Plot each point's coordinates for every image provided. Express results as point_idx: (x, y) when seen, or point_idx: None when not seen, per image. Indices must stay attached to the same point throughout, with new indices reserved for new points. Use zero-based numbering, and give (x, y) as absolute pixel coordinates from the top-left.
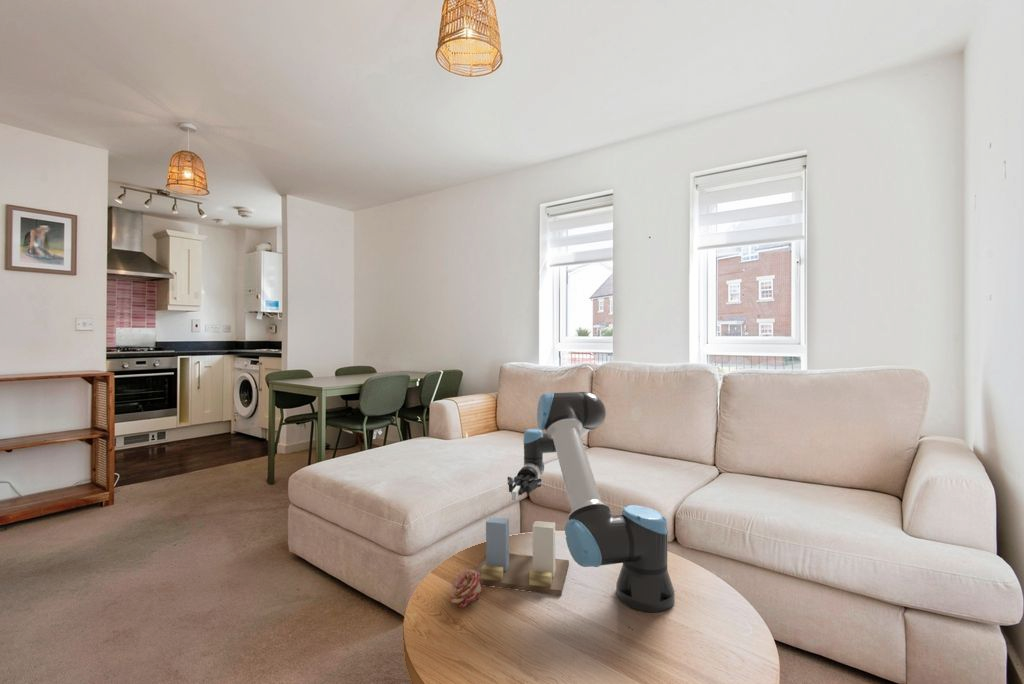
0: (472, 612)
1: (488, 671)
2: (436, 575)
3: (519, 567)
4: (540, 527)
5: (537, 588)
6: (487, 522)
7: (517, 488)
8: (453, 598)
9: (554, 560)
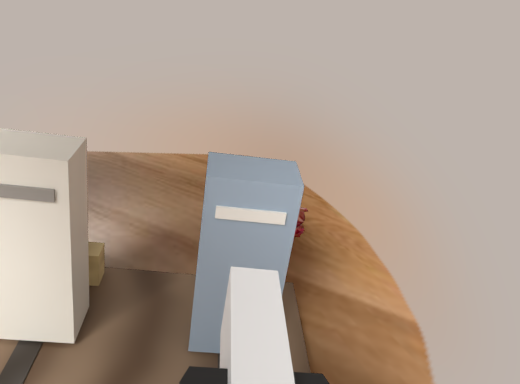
0: None
1: (169, 156)
2: (412, 320)
3: (143, 347)
4: (49, 135)
5: None
6: (288, 162)
7: (245, 356)
8: None
9: None
